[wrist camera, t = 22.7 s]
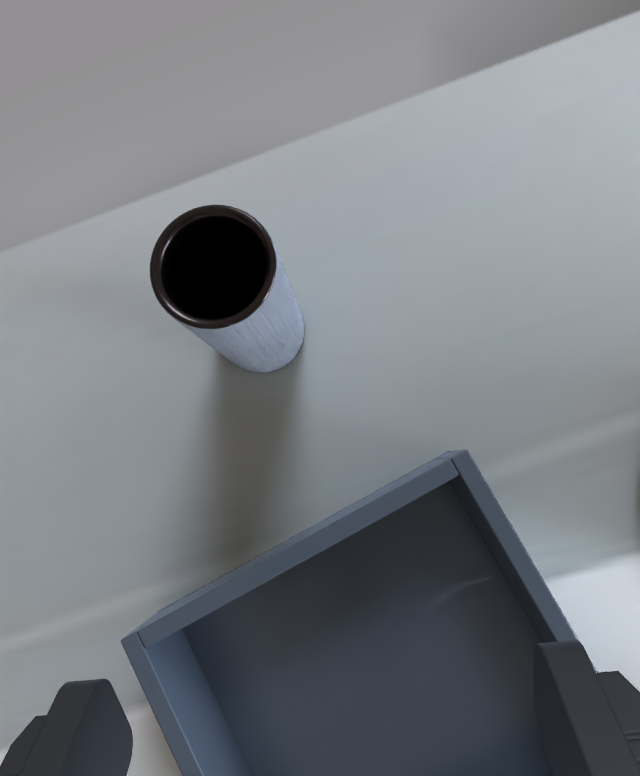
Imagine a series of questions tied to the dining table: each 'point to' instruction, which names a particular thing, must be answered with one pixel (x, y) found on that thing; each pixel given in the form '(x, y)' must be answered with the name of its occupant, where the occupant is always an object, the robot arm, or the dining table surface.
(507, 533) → the dark grey open tray
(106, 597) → the dining table surface
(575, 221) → the dining table surface
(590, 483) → the dining table surface
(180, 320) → the white and black tumbler
